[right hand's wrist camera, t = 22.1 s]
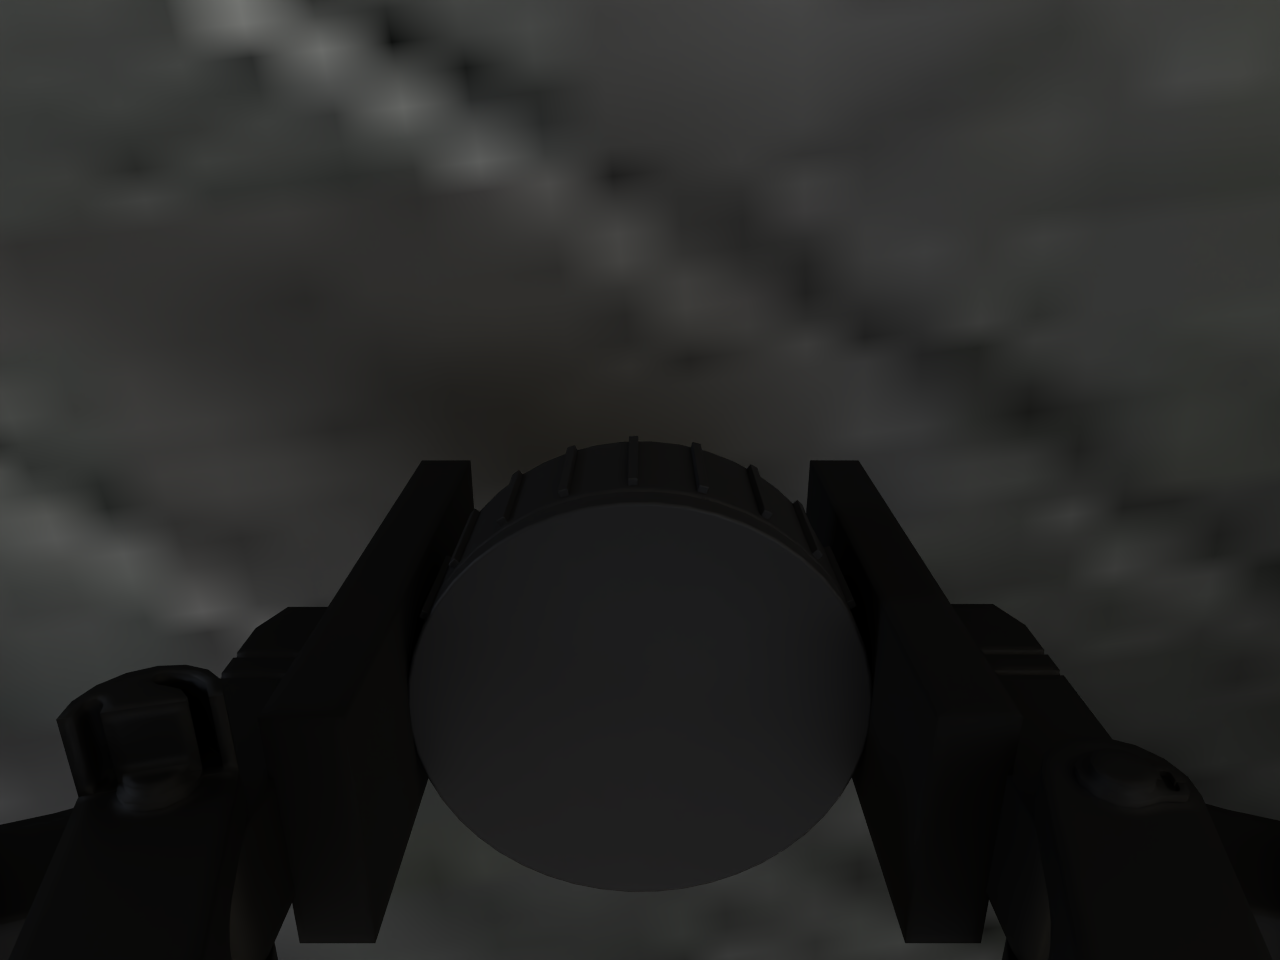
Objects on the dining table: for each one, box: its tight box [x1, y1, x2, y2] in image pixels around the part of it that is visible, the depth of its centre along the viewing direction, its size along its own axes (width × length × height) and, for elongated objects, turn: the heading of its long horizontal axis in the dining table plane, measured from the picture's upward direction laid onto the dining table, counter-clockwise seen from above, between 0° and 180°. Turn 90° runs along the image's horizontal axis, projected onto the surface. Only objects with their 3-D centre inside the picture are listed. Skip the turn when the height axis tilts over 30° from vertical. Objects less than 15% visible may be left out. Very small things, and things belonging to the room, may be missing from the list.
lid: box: [408, 436, 872, 892], centre depth 11 cm, size 6×6×2 cm
